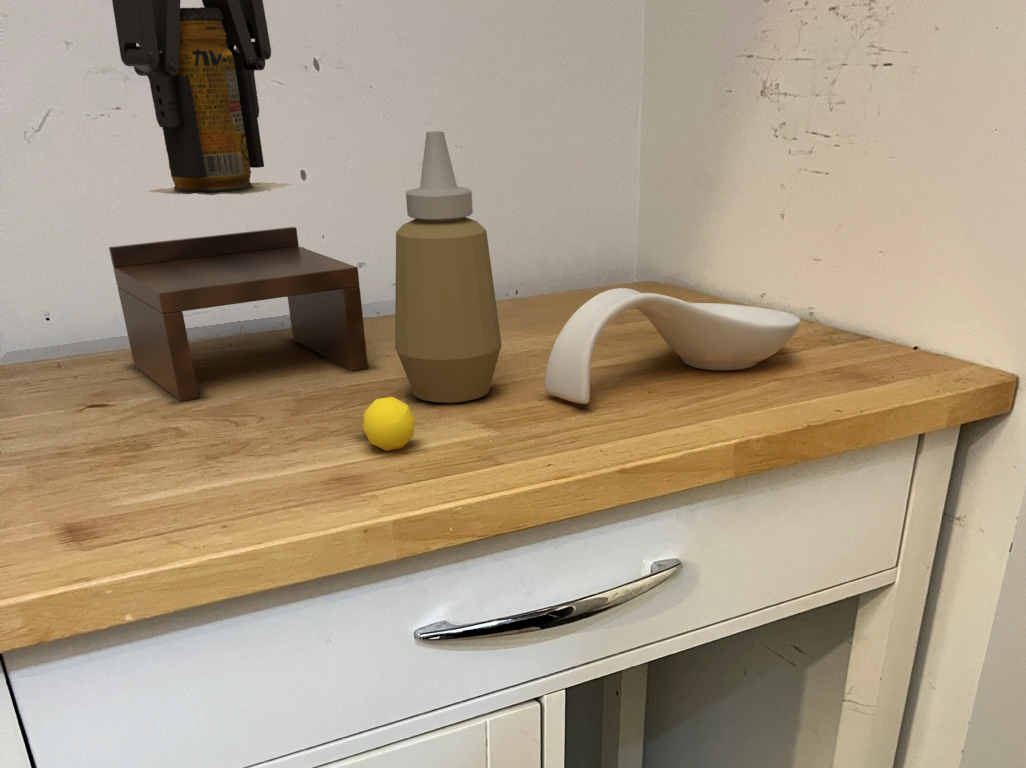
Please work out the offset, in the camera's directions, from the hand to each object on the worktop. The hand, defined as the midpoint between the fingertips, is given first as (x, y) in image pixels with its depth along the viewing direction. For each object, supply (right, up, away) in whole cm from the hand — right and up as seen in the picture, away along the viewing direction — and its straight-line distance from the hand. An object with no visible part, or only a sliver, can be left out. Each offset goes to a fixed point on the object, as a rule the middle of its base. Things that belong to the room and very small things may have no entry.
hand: (219, 170), depth 85 cm
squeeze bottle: (+18, -17, 0) cm, 25 cm away
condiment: (0, -1, +1) cm, 2 cm away
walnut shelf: (0, -13, +8) cm, 15 cm away
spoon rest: (+36, -15, +4) cm, 39 cm away
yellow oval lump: (+14, -24, -9) cm, 29 cm away
